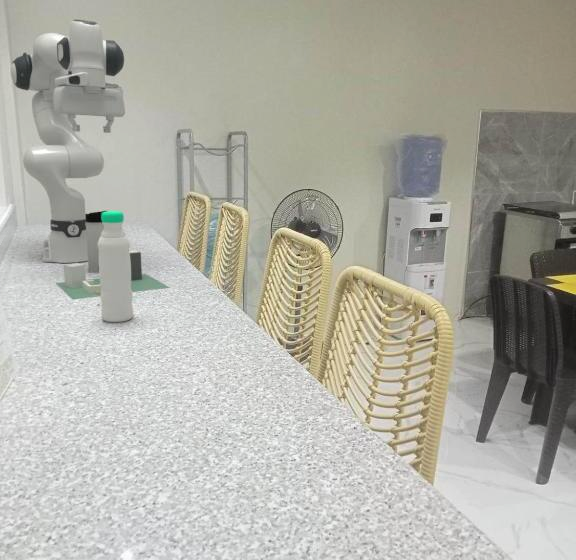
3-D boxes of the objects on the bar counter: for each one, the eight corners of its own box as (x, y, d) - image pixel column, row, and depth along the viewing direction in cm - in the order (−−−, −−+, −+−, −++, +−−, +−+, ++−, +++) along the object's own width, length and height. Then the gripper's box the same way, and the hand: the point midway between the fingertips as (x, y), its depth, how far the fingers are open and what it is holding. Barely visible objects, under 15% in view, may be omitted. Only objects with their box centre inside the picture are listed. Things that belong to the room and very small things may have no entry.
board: (56, 287, 161) (55, 276, 160) (145, 277, 175) (145, 267, 174) (72, 303, 144) (72, 291, 144) (170, 291, 158) (169, 280, 158)
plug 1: (63, 285, 158) (62, 264, 157) (77, 283, 161) (75, 262, 160) (72, 288, 155) (70, 266, 153) (86, 286, 158) (84, 264, 156)
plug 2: (119, 278, 168) (118, 250, 166) (136, 276, 171) (135, 249, 169) (125, 281, 164) (123, 253, 162) (141, 279, 167) (140, 251, 165)
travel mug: (104, 277, 173) (101, 212, 169) (85, 276, 174) (80, 211, 170) (114, 273, 179) (111, 209, 175) (95, 272, 180) (91, 209, 176)
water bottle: (139, 316, 135) (134, 211, 129) (121, 324, 129) (116, 214, 123) (114, 313, 137) (108, 209, 132) (95, 321, 131) (88, 212, 125)
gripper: (116, 85, 170) (119, 133, 173) (48, 78, 155) (52, 131, 158) (127, 84, 165) (130, 133, 168) (59, 76, 151) (63, 130, 154)
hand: (92, 132), depth 163 cm, fingers open, 8 cm apart
